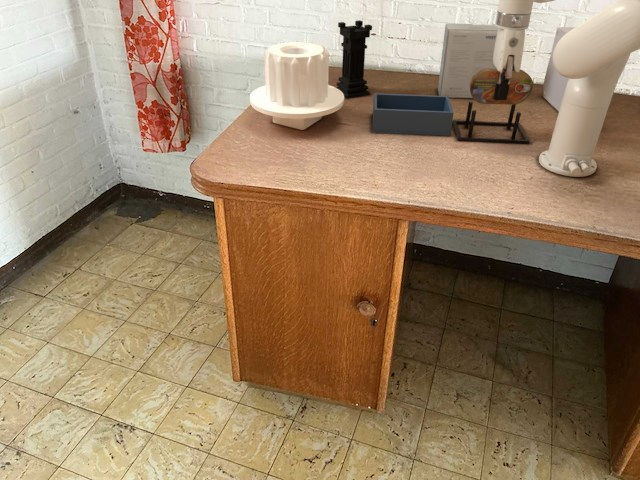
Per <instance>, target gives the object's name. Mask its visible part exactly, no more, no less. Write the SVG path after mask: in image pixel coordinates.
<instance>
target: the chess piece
mask: <svg viewBox="0 0 640 480" xmlns="http://www.w3.org/2000/svg"><path fill="white" fill-rule="evenodd" d="M363 25H364V26H363ZM337 28H339V35H340V36H342V37H343V38H342V42H341V43H340V44H341V45H340V46H341V47H342V64H341V65H342V69H341V70H342V71H341V77H338V82H337V81H336V86H334V87H335V88H337V89H339V90H340V91H341V92H342V93H343V94H344V99H350V98H358V97H364V96H370V94H371V91H369V85H367V84H368V81H367V80H366V79H364V77H365V61H366V60H365V59H366V49H367V50H368V45H367V44H366V42H367V41H366V40H367V38H368V39H369V38H371V36H370V35H371V31H373V25H372V24H364V21H363V20H361V19H360V20H355V21H354V25H348V26H347V24H346V22H344V21H340V22H339V21H338V22H337Z"/></svg>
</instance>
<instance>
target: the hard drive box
mask: <svg viewBox="0 0 640 480" xmlns="http://www.w3.org/2000/svg"><path fill="white" fill-rule="evenodd" d="M497 32H498V27H496V26H495V23H445V25H444V33H443V40H442V41H443V43H442V50H441V58H440V67H439V76H438V82H437V83H438V84H437V92H438V96H449V99H450V98H451V99H455V98H456V99H473V98H472V96H471V93H470V87H469V86H470V81H471V79H472V77H473V76H474V75H475V74H476V73H477V72H478V71H480V70H483V69H495V68H496V67H495V65H494V63H493V54H494V48H495V42H496V37H497Z"/></svg>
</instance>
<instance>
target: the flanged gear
mask: <svg viewBox="0 0 640 480" xmlns="http://www.w3.org/2000/svg"><path fill="white" fill-rule="evenodd" d="M265 49H266V50H265V51H264V53H263V61H264V62H263V63H264V64H263V65H264V85H262V86H259V87H258V88H255V89H254V90H253V91H252V92H251V93H250V95H249V103H250V106H251V108H252V109H254V110H255V111H257V112H259V113H260V114H264V115H267V116H269V117H272V123H274V124H276V125H281V126H285V127H288V128H293V129H297V130H301V131H304V130H306V129H307V128H309V127H310V126H312V125H315V123H317V122H318V121H320V120H322V118H323V117H324V116H327V115H331V114H333V113H335V112H337V111H339V110H340V109H342V108H343V106H344V104H345V97H344V94H343V93H342V92H341V91H340V90H339V89H337V88H335V87H336V86H333V85H330V84H329V78H330V77H329V73H330V72H329V71H330V70H329V68H330V53H329V51H328V50H327V49H326V48H325V46H324V45H319V44H316V43H313V42H303V41H302V42H301V41H293V42H289V41H288V42H282V43H277V44H272V45H270V46H269V48H265Z"/></svg>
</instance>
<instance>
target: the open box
mask: <svg viewBox="0 0 640 480" xmlns="http://www.w3.org/2000/svg"><path fill="white" fill-rule="evenodd" d="M453 120H454V110H453V106H452V103H451V100H450V98H449V96H439V95H431V94H430V95H428V94H427V95H426V94H400V93H379V92H378V93H376V92H374V93H373V104H372V124H371V125H372V126H371V127H372V128H371V129H372V130H371V133H373V134H377V133H378V134H397V135H417V136H418V135H419V136H445V137H450V136H451V133H452V126H453V123H452V122H453Z"/></svg>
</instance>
